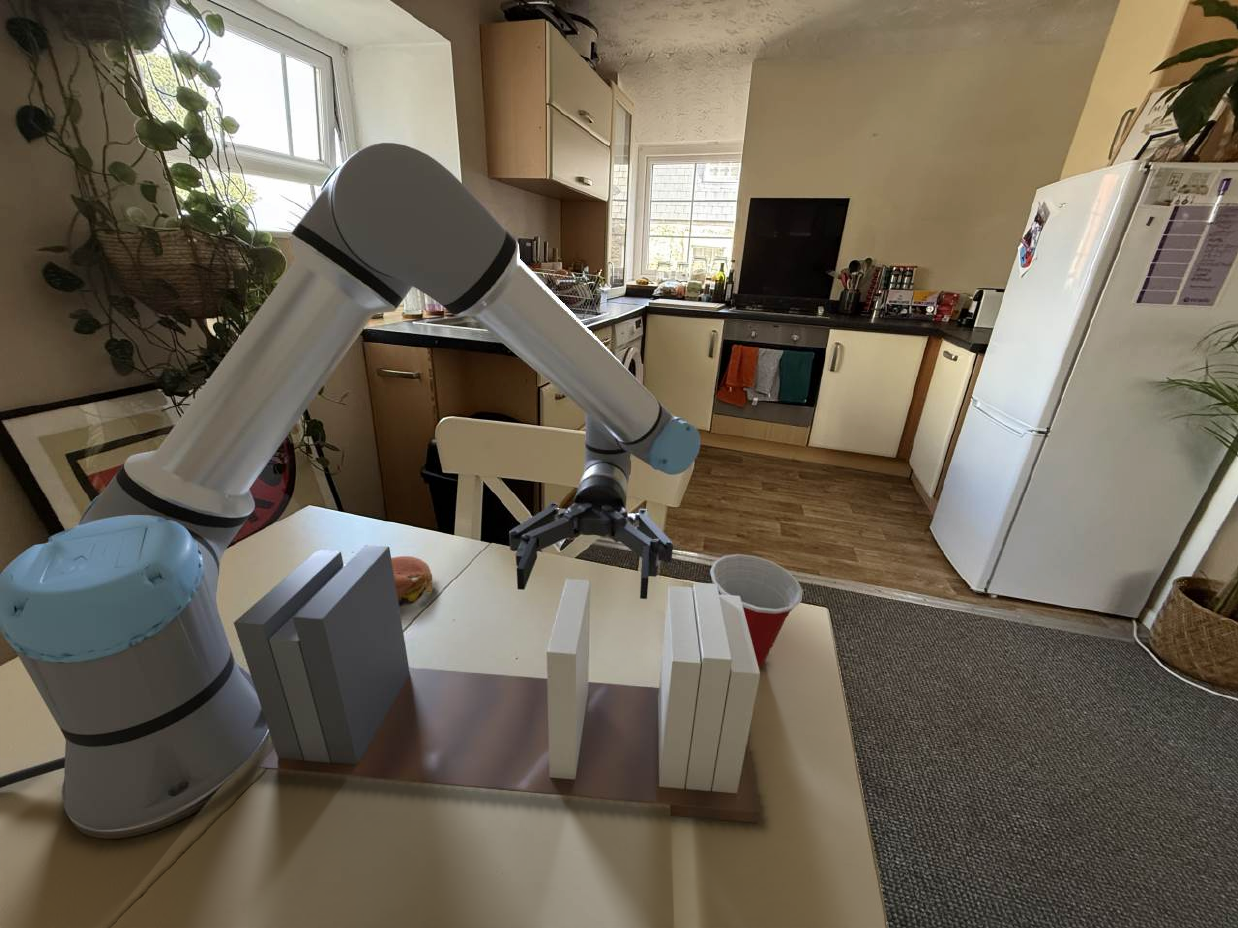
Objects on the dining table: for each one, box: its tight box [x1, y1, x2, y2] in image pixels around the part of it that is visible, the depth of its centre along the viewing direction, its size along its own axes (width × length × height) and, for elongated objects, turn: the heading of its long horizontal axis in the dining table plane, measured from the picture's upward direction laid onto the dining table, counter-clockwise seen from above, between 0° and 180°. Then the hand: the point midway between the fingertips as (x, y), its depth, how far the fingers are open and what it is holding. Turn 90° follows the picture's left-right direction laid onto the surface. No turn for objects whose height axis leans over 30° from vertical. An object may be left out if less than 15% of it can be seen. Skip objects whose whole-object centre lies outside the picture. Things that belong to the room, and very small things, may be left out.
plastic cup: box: [709, 553, 804, 669], centre depth 61 cm, size 11×11×12 cm
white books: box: [658, 582, 761, 793], centre depth 47 cm, size 7×10×16 cm
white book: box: [546, 578, 591, 780], centre depth 48 cm, size 2×10×15 cm, turn 176°
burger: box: [391, 555, 434, 607], centre depth 71 cm, size 10×9×5 cm
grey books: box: [233, 544, 410, 765], centre depth 48 cm, size 8×11×17 cm
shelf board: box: [258, 667, 761, 824], centre depth 51 cm, size 46×13×2 cm, turn 86°
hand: (581, 584), depth 54 cm, fingers open, 13 cm apart
